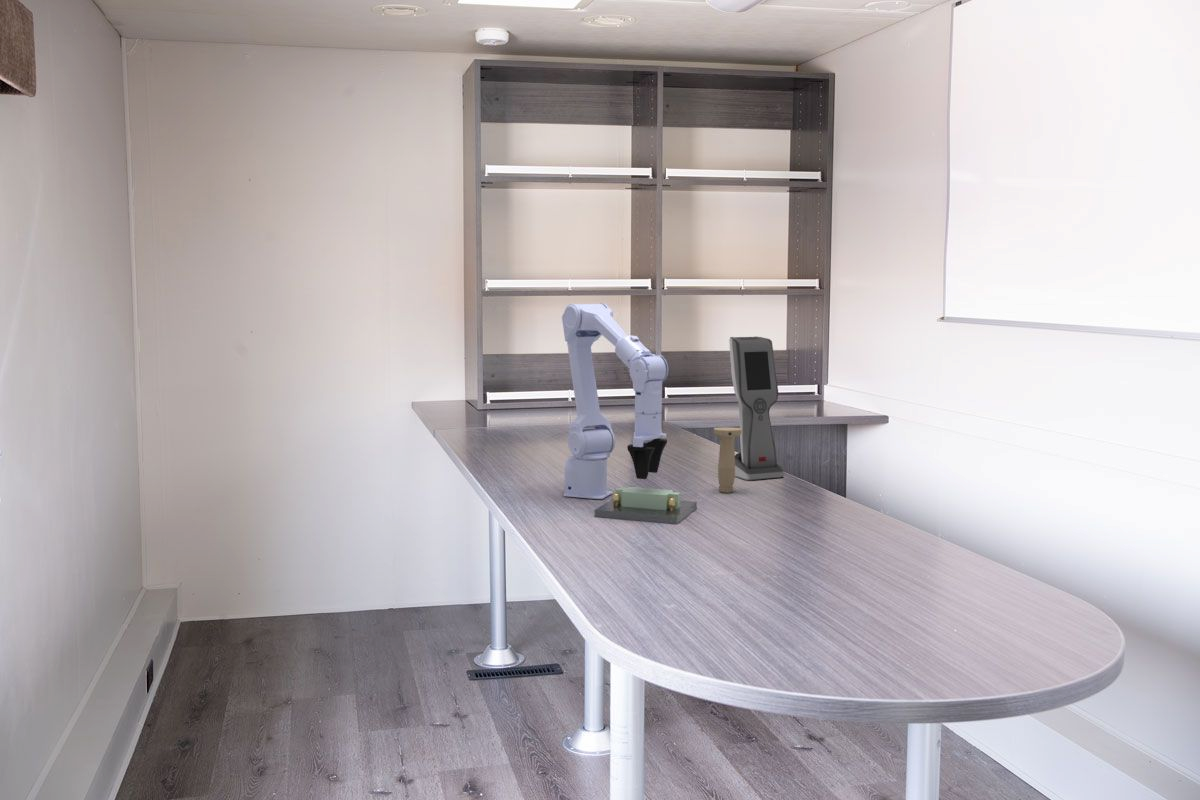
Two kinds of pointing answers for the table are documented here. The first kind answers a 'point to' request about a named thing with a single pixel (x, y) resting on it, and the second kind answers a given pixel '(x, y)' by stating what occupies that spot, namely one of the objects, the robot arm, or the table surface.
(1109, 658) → the table surface
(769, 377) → the thermal camera
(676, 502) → the pale green block
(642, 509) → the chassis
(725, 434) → the handle
